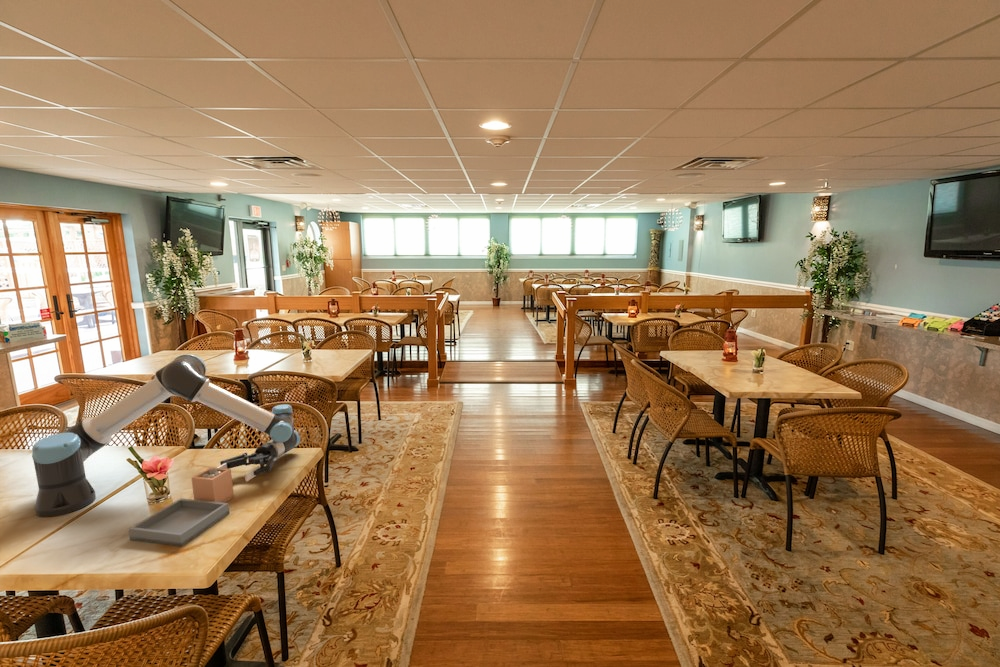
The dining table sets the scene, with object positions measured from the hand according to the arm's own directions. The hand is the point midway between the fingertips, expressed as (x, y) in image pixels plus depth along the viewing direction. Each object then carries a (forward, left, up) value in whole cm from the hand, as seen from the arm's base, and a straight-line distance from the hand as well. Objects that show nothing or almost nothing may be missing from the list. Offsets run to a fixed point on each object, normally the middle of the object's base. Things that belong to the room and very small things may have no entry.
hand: (228, 476), depth 166 cm
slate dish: (+2, -22, -6) cm, 23 cm away
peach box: (0, -7, -6) cm, 9 cm away
